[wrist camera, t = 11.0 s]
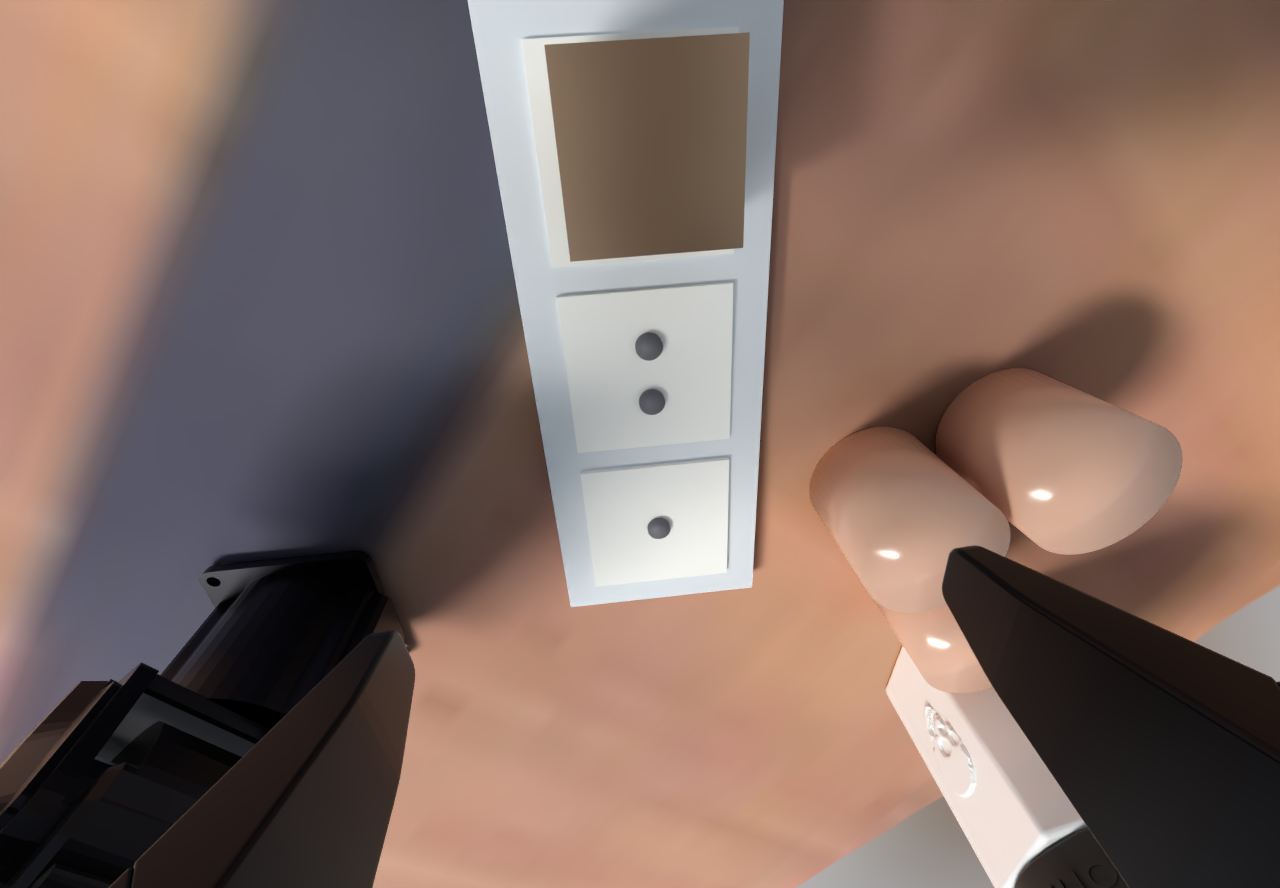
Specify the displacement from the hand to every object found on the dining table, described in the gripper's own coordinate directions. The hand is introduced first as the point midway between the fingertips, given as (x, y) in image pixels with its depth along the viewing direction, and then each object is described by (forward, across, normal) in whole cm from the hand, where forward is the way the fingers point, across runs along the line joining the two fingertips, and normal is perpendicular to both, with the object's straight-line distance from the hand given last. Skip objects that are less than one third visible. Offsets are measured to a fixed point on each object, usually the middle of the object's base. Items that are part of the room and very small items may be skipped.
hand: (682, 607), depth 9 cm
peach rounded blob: (+12, -15, +4) cm, 19 cm away
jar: (+12, -16, +18) cm, 27 cm away
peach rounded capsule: (+12, -10, +6) cm, 16 cm away
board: (+12, -1, 0) cm, 12 cm away
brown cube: (+10, -1, -6) cm, 12 cm away
